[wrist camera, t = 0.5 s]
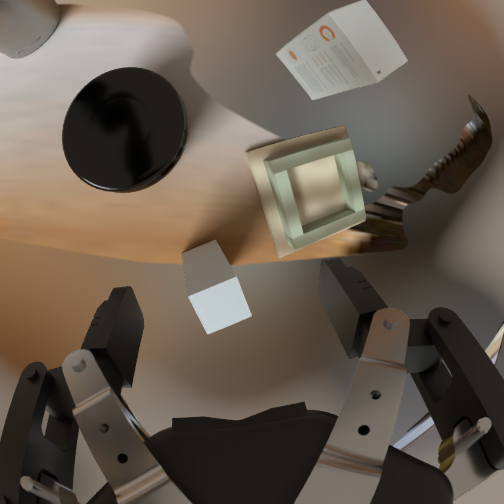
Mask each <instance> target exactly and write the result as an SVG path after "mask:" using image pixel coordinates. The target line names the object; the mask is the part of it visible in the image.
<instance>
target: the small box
mask: <svg viewBox="0 0 504 504" xmlns="http://www.w3.org/2000/svg"><path fill="white" fill-rule="evenodd" d="M276 55H277V56H278V57H279V59H280V60H281V61H282V62H283V63H284V65H285V66H286V67H287V68H288V69H289V71H290V72H291V73H292V74H293V76H294V77H295V78H296V79H297V81H298V82H299V83H300V84H301V86H302V87H303V88H304V90H305V91H306V92H307V94H308V95H309V96H310V98H311V99H312V100H315V99H319V98H323V97H326V96H330V95H333V94H337V93H340V92H344V91H347V90H351V89H355V88H360V87H364V86H368V85H372V84H377V83H379V82H380V81H381V80H383V79H384V78H385V77H386V76H388V75H389V74H390V73H392V72H393V71H395V70H396V69H397V68H399V67H400V66H401V65H403V64H404V63H406V62H407V61H408V60H407V58H406V57H405V55H404V53H403V52H402V50H401V48H400V47H399V45H398V44H397V42H396V41H395V39H394V38H393V36H392V35H391V33H390V32H389V30H388V29H387V27H386V26H385V25H384V23H383V22H382V21H381V19H380V18H379V16H378V15H377V14H376V12H375V11H374V10H373V8H372V7H371V6H370V5H369V4H368V2H367V1H366V0H362V1H358V2H355V3H352V4H349V5H346V6H344V7H341V8H338V9H335V10H333V11H330V12H328V13H327V14H325V15H324V16H323V17H321V18H320V19H319V20H317V21H316V22H315V23H313V24H312V25H310V26H309V27H308V28H306V29H305V30H304V31H302V32H301V33H300V34H299V35H297V36H296V37H295V38H293V39H292V40H291V41H290V42H288V43H287V44H286V45H285V46H284V47H282V48H281V49H280V50H279V51H278V52H277V53H276Z"/></svg>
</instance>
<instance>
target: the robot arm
mask: <svg viewBox="0 0 504 504" xmlns="http://www.w3.org/2000/svg"><path fill="white" fill-rule="evenodd" d="M59 19H60V8H59V6H58V5H57V3H56V2H55V1H54V0H0V52H1V53H3V54H5V55H7V56H9V57H11V58H22V57H24V56H27V55H29V54H30V53H32V52H34V51H35V50H36V49H38V48H39V47H40V46H41V45H42V44H43V43H45V41H46V40H47V39H48V38H49V37H50V36H51V34H52V33H53V31H54V30H55V28H56V26H57V24H58V21H59ZM319 297H320V301H321V304H322V306H323V308H324V310H325V312H326V313H327V316H328V318H329V320H330V322H331V324H332V326H333V328H334V329H335V332H336V333H337V335H338V338H339V339H340V342H341V344H342V346H343V348H344V350H345V352H346V354H347V356H348V358H349V359H351V358H354V357H359V359H360V361H359V364H358V367H357V370H356V373H355V376H354V378H353V381H352V384H351V386H350V389H349V392H348V395H347V397H346V399H345V402H344V404H343V407H342V409H341V412H340V414H339V416H337V415H334V414H331V413H328V412H324V411H318V410H307V409H306V406H305V402H300V403H296V404H291V405H286V406H281V407H275V408H271V409H269V410H266V411H263V412H261V413H258V414H256V415H253V416H250V417H248V418H245V419H242V420H227V419H218V418H211V417H188V418H173V419H172V427H170V428H167V429H164V430H162V431H160V432H158V433H156V434H154V435H153V436H150V435H149V434H148V433H147V432H146V430H145V429H144V428H143V426H142V425H141V423H140V422H139V421H138V419H137V418H136V416H135V415H134V413H133V412H132V410H131V409H130V407H129V406H128V404H127V403H126V401H125V400H124V398H123V397H122V396H121V388H132V383H133V378H134V372H135V367H136V362H137V357H138V352H139V347H140V343H141V338H142V333H143V329H144V318H143V314H142V312H141V309H140V307H139V305H138V302H137V299H136V297H135V294H134V291H133V289H132V288H131V287H130V286H127V287H118V288H114V289H113V290H112V292H111V294H110V296H109V299H108V300H106V301H104V302H103V303H102V304H101V305H100V306H99V307H98V309H97V311H96V313H95V315H94V319H93V320H92V322H91V326H90V327H89V329H88V332H87V334H86V337H85V339H84V342H83V344H82V347H81V349H80V350H76V351H74V352H72V353H71V354H69V355H68V356H67V357H66V359H65V361H64V362H63V366H62V367H58V368H55V369H51V370H48V369H47V368H46V367H45V365H44V364H43V363H41V362H33V363H31V364H29V365H28V366H27V367H26V368H25V369H24V370H23V372H22V374H21V377H20V379H19V382H18V384H17V387H16V390H15V393H14V396H13V399H12V402H11V405H10V408H9V411H8V414H7V418H6V421H5V425H4V429H3V432H2V437H1V441H0V504H81V503H80V502H79V501H78V499H77V497H76V495H75V493H74V492H73V475H74V464H75V455H76V447H77V446H76V445H77V439H78V432H79V428H80V430H81V432H82V435H83V436H84V439H85V441H86V443H87V445H88V447H89V449H90V451H91V453H92V455H93V457H94V458H95V460H96V462H97V464H98V466H99V467H100V469H101V471H102V472H103V474H104V476H105V478H106V479H107V481H108V482H107V483H106V484H105V485H104V486H103V487H102V488H101V489H100V490H99V491H98V492H97V493H96V494H95V495H94V496H93V497H92V498H91V499H90V500H89V501H88V502H87V503H86V504H453V501H454V500H456V499H457V498H459V497H460V496H462V495H464V494H465V493H466V492H468V491H470V490H471V489H472V488H474V487H475V486H477V485H478V484H480V483H481V482H483V481H485V480H487V479H488V478H490V477H492V476H494V475H495V474H497V473H498V472H500V471H502V470H503V469H504V380H503V378H502V376H501V375H500V373H499V372H498V370H497V369H496V367H495V366H494V364H493V363H492V361H491V360H490V358H489V357H488V355H487V354H486V353H485V351H484V350H483V348H482V347H481V346H480V344H479V343H478V342H477V340H476V339H475V337H474V336H473V335H472V333H471V332H470V331H469V330H468V328H467V327H466V326H465V324H464V323H463V322H462V320H461V319H460V318H459V317H458V315H457V314H456V313H454V312H453V311H452V310H450V309H447V308H442V307H438V308H435V309H433V310H431V312H430V313H429V316H428V318H427V319H408V317H407V315H406V314H405V313H403V312H402V311H400V310H397V309H394V308H388V306H387V305H386V304H385V302H384V301H383V300H382V299H381V297H380V296H379V295H378V293H377V292H376V291H375V289H374V288H373V287H372V286H371V284H370V283H369V282H368V281H367V279H366V278H365V277H364V275H363V274H362V273H361V272H359V271H358V270H356V269H355V268H353V267H346V265H345V264H344V263H343V261H342V260H341V259H340V258H339V257H336V258H330V259H323V260H321V263H320V278H319ZM442 360H444V362H445V363H446V365H447V367H448V368H449V370H450V372H451V374H452V377H451V375H450V374H449V372H448V370H447V368H446V367H445V365H444V364H443V362H442ZM406 373H410V374H411V376H412V378H413V380H414V382H415V384H416V386H417V388H418V390H419V392H420V394H421V396H422V398H423V400H424V402H425V404H426V406H427V408H428V410H429V413H430V415H431V417H432V419H433V421H434V423H435V426H436V428H437V430H438V432H439V434H440V436H441V439H442V441H441V443H440V445H439V449H438V462H439V464H440V466H439V469H438V468H436V467H434V466H432V465H430V464H428V463H425V462H423V461H421V460H419V459H417V458H415V457H413V456H411V455H409V454H407V453H405V452H403V451H401V450H399V449H397V448H395V447H393V446H391V445H389V443H390V440H391V437H392V433H393V429H394V426H395V422H396V419H397V414H398V410H399V407H400V402H401V398H402V393H403V388H404V383H405V378H406ZM45 410H46V411H47V412H49V419H48V423H47V428H46V433H45V436H44V435H43V433H42V429H41V424H42V420H43V416H44V412H45Z"/></svg>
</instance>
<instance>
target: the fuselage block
mask: <svg viewBox="0 0 504 504" xmlns="http://www.w3.org/2000/svg"><path fill="white" fill-rule="evenodd" d="M182 260H183V267H184V274H185V279H186V286H187V292H188V297H189V299H190V301H191V303H192V305H193V307H194V309H195V311H196V313H197V315H198V317H199V319H200V321H201V323H202V324H203V326H204V328H205V330H206V332H207V334H210V333H212V332H215V331H217V330H220V329H222V328H225V327H227V326H229V325H232V324H234V323H236V322H239V321H241V320H244V319H246V318H248V317H250V316H252V315H251V313H250V310H249V307H248V305H247V302H246V300H245V297H244V295H243V292H242V290H241V287H240V284H239V282H238V279H237V277H236V275H235V273H234V271H233V270H232V268H231V266H230V264H229V262H228V261H227V259H226V257H225V255H224V254H223V252H222V250H221V248H220V246H219V245H218V243H217V241H216V239H215V240H213V241H210V242H208V243H206V244H203V245H201V246H198V247H196V248H193V249H191V250H189V251H186V252H184V253H182Z"/></svg>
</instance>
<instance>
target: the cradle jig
mask: <svg viewBox="0 0 504 504" xmlns="http://www.w3.org/2000/svg"><path fill="white" fill-rule="evenodd" d="M245 154H246V157H247V160H248V163H249V166H250V169H251V172H252V175H253V179H254V182H255V185H256V188H257V191H258V195H259V198H260V201H261V204H262V207H263V211H264V214H265V217H266V221H267V224H268V227H269V230H270V234H271V237H272V240H273V244H274V247H275V250H276V254H277V256H278V257H279V258H281V257H284V256H286V255H288V254H291V253H293V252H295V251H298V250H300V249H302V248H305V247H307V246H309V245H311V244H314V243H316V242H318V241H321V240H323V239H325V238H327V237H330V236H332V235H334V234H337V233H339V232H341V231H343V230H346V229H348V228H350V227H352V226H355V225H357V224H359V223H361V222H364V221H365V219H366V215H365V209H364V203H363V197H362V191H361V185H360V180H359V175H358V170H357V165H356V160H355V156H354V151H353V147H352V142H351V139H350V138H348V134H347V130H346V126H339V127H334V128H330V129H326V130H322V131H318V132H314V133H310V134H306V135H303V136H299V137H295V138H291V139H288V140H284V141H280V142H277V143H274V144H270V145H267V146H264V147H260V148H257V149H254V150H251V151H248V152H245Z"/></svg>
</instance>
